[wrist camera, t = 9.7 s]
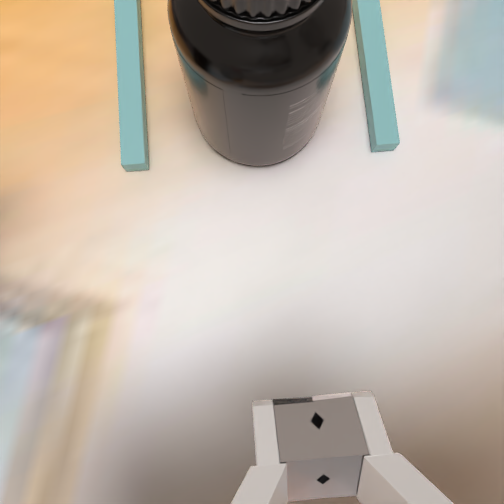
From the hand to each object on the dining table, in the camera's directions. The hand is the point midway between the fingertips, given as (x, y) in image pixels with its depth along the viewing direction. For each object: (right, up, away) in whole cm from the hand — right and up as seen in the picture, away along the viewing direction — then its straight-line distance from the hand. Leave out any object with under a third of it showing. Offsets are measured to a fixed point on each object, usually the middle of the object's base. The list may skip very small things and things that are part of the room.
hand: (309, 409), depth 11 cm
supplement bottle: (-1, +12, +13) cm, 18 cm away
